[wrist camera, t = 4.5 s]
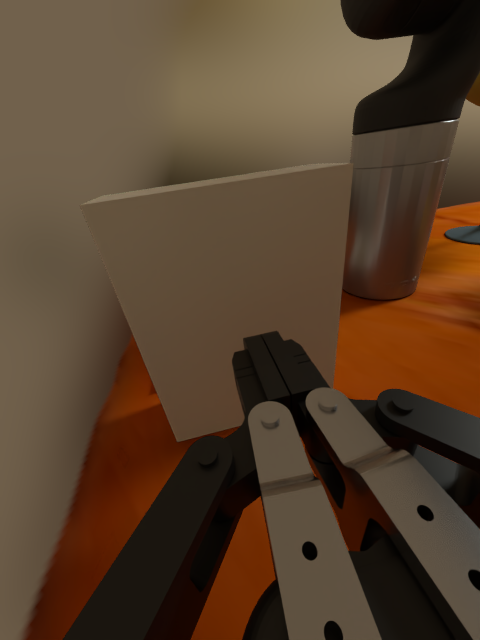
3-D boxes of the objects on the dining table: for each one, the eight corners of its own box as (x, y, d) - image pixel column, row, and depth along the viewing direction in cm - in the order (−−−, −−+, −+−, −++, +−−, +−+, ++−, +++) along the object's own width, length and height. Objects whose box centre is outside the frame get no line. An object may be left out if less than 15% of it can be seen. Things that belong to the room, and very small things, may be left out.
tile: (177, 397, 23) (104, 195, 14) (308, 366, 24) (312, 163, 16) (177, 442, 19) (79, 205, 11) (331, 401, 20) (353, 163, 12)
